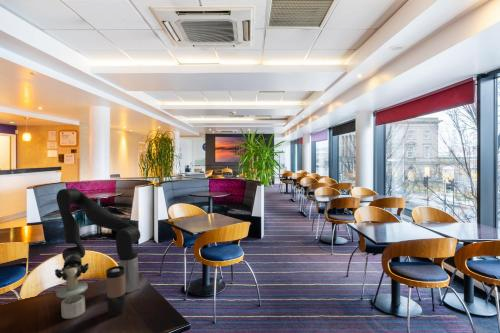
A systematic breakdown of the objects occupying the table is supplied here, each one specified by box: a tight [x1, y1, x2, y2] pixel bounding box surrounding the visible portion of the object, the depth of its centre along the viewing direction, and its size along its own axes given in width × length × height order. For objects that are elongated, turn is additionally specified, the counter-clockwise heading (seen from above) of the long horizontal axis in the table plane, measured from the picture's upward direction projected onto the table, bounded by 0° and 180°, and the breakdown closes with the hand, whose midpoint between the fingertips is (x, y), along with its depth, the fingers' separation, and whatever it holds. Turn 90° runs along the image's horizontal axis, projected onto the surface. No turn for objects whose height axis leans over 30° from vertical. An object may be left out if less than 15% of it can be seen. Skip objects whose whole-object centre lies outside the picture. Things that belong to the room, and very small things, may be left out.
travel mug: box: [105, 265, 126, 317], centre depth 125 cm, size 8×8×20 cm
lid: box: [55, 267, 88, 299], centre depth 125 cm, size 12×12×10 cm
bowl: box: [60, 294, 86, 320], centre depth 125 cm, size 9×9×6 cm
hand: (71, 276), depth 122 cm, fingers closed on lid, 4 cm apart
